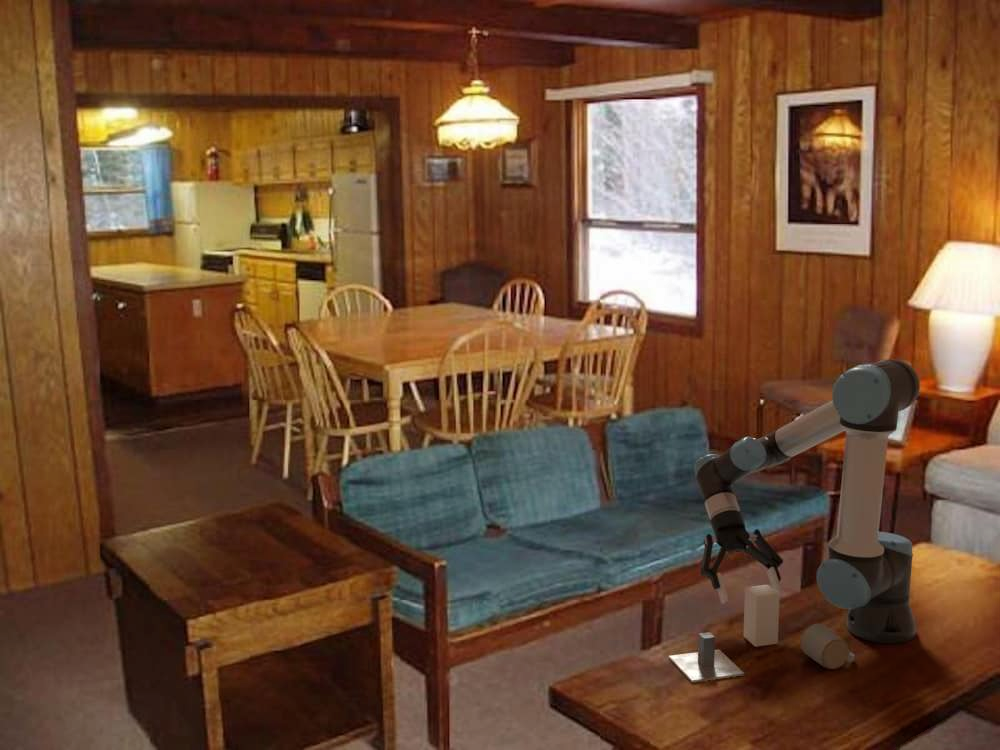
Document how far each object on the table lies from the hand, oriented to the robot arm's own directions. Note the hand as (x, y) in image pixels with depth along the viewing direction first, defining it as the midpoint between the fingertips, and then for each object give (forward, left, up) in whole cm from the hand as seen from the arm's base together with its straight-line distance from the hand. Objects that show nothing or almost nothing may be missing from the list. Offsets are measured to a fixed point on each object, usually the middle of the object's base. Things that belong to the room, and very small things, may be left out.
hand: (752, 598), depth 243 cm
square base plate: (-2, +21, -9) cm, 23 cm away
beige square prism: (-3, +1, -9) cm, 9 cm away
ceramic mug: (-20, 0, -9) cm, 22 cm away
